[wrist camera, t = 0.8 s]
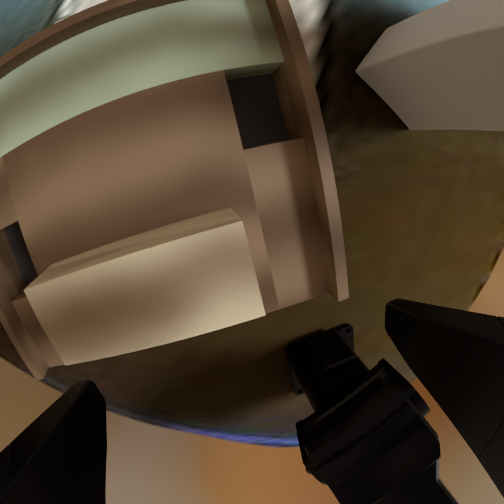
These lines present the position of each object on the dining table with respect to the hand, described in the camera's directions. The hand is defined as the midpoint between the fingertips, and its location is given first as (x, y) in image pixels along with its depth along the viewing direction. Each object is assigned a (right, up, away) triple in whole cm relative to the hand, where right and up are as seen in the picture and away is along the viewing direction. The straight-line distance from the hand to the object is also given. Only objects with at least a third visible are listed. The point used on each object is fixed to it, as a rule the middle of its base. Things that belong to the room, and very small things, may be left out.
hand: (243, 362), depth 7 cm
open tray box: (-8, +8, +10) cm, 15 cm away
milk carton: (+13, +18, +12) cm, 25 cm away
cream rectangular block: (-6, +2, +9) cm, 11 cm away
